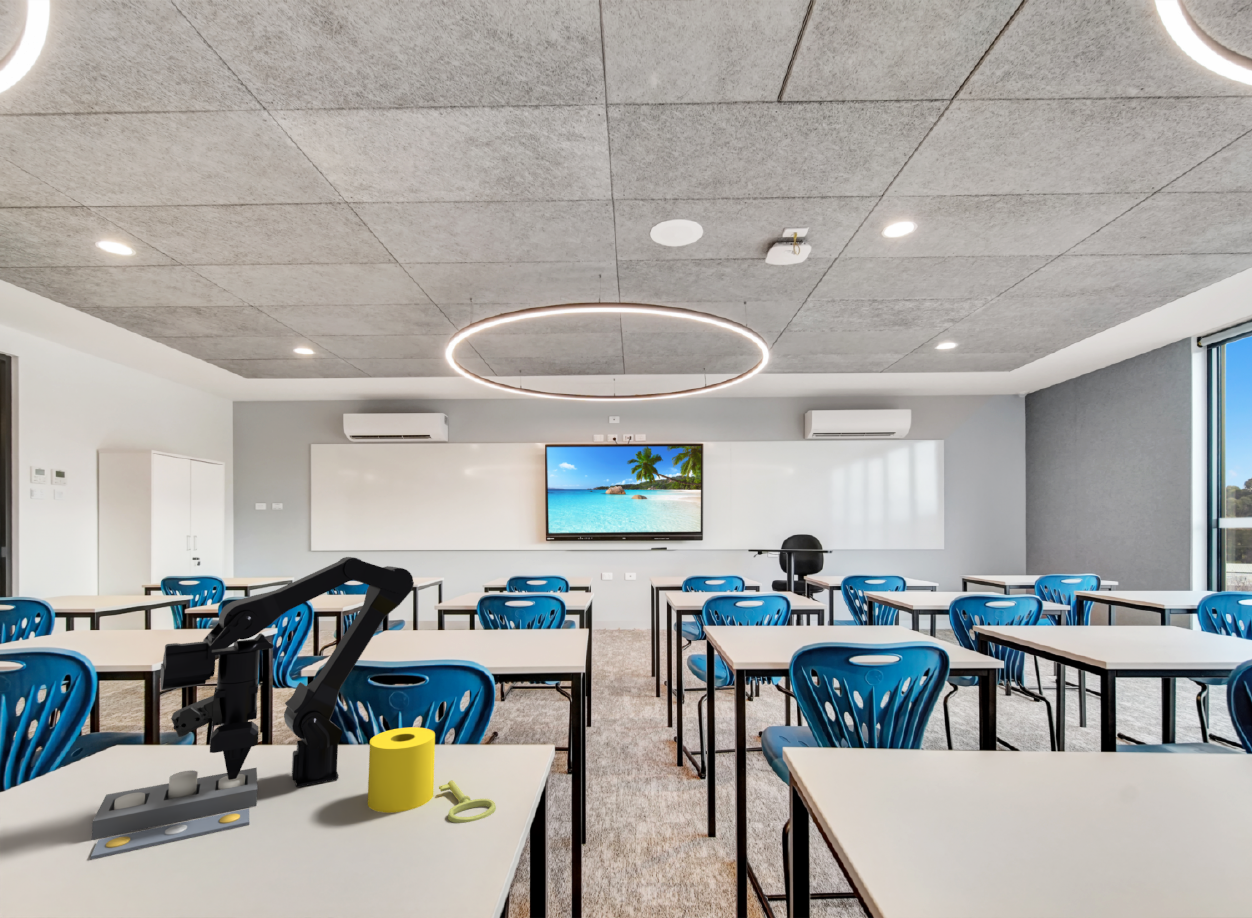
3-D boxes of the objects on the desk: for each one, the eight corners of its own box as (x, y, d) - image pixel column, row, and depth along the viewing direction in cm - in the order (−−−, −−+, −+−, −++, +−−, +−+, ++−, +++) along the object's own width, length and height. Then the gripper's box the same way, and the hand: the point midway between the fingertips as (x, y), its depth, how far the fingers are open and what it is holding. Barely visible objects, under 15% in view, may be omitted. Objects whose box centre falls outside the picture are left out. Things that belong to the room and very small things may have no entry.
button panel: (255, 782, 106) (256, 767, 106) (256, 805, 98) (257, 789, 98) (105, 811, 96) (106, 794, 96) (91, 839, 87) (92, 821, 87)
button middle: (197, 788, 99) (198, 768, 100) (195, 796, 96) (196, 776, 96) (169, 793, 97) (170, 773, 98) (166, 802, 94) (168, 781, 95)
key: (451, 791, 103) (451, 778, 104) (501, 812, 96) (501, 798, 96) (413, 808, 98) (414, 793, 98) (464, 831, 90) (464, 816, 91)
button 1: (145, 810, 96) (146, 790, 96) (141, 820, 93) (143, 799, 93) (115, 816, 94) (116, 795, 94) (110, 826, 91) (112, 805, 91)
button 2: (244, 791, 102) (245, 772, 103) (244, 799, 99) (245, 779, 100) (218, 796, 101) (219, 776, 101) (217, 804, 97) (218, 784, 98)
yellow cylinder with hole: (353, 806, 97) (355, 743, 98) (398, 781, 107) (400, 724, 108) (403, 817, 94) (405, 752, 95) (446, 790, 103) (447, 731, 104)
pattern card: (249, 811, 96) (249, 806, 96) (249, 824, 91) (249, 820, 92) (98, 842, 86) (98, 838, 86) (90, 859, 82) (90, 854, 82)
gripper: (182, 673, 106) (176, 769, 104) (171, 701, 90) (164, 814, 88) (258, 665, 111) (254, 756, 110) (260, 689, 95) (255, 796, 94)
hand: (232, 778), depth 100 cm, fingers closed, pressing on button 2
